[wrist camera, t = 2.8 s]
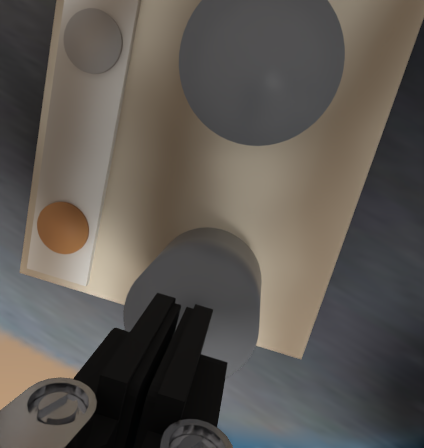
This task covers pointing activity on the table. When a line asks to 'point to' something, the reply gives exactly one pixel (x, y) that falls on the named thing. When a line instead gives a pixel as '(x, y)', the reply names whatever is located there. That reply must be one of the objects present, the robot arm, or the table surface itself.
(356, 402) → the table surface
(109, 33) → the button board
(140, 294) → the button
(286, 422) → the table surface
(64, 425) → the robot arm
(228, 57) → the button middle
